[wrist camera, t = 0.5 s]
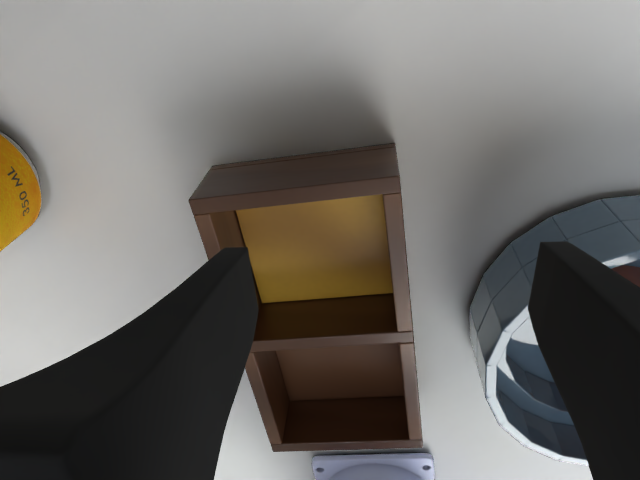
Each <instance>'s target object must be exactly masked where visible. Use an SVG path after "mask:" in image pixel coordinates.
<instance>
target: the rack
mask: <svg viewBox="0 0 640 480" xmlns="http://www.w3.org/2000/svg"><path fill="white" fill-rule="evenodd" d="M189 203H190V206H191V209H192V212H193V215H194V218H195V221H196V224H197V227H198V230H199V233H200V236H201V239H202V242H203V245H204V248H205V251H206V254H207V257H208V260H210V259H211V258H212V257H213V256H215V255H216V254H217V253H218V252H219V251H221V250H222V249H223V248H230V247H248V252H249V258H250V264H251V269H252V275H253V280H254V286H255V292H256V297H257V303H258V309H259V311H258V317H257V323H256V329H255V334H254V339H253V344H252V347H251V350H250V353H249V356H248V359H247V362H246V365H245V369H246V372H247V375H248V378H249V381H250V384H251V387H252V390H253V393H254V396H255V399H256V402H257V405H258V408H259V411H260V414H261V417H262V420H263V423H264V426H265V429H266V432H267V435H268V438H269V441H270V443H271V447H272V450H273V452H285V451H322V450H358V449H394V448H422V447H423V440H422V428H421V417H420V405H419V394H418V382H417V371H416V359H415V348H414V336H413V324H412V313H411V301H410V290H409V278H408V267H407V255H406V244H405V232H404V220H403V209H402V197H401V186H400V175H399V168H398V160H397V153H396V146H395V143H392V144H384V145H376V146H368V147H360V148H352V149H344V150H336V151H328V152H320V153H312V154H304V155H296V156H288V157H280V158H272V159H264V160H256V161H248V162H240V163H232V164H224V165H216V166H212V167H211V169H210V170H209V172H208V173H207V174H206V176H205V177H204V179H203V180H202V182H201V183H200V184H199V186H198V187H197V189H196V190H195V192H194V193H193V194H192V196H191V197H190V199H189Z"/></svg>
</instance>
